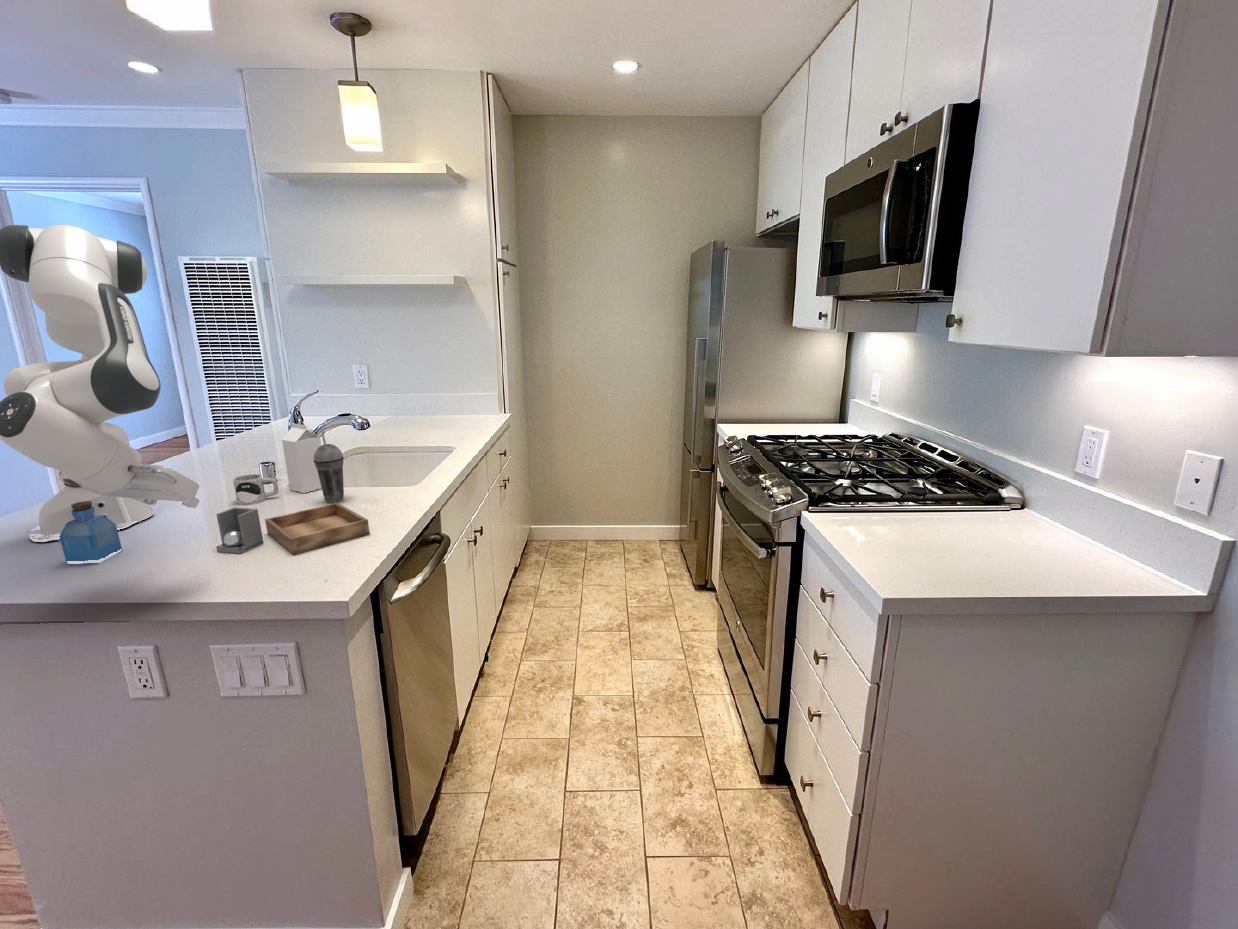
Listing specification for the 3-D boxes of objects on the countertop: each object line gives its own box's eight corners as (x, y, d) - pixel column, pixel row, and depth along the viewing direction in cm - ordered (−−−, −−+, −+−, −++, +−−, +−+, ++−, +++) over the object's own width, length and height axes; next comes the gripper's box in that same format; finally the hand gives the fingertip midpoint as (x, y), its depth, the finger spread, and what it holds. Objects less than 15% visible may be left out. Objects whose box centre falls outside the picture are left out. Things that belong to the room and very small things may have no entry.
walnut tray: (293, 555, 120) (290, 539, 119) (267, 533, 132) (264, 519, 131) (369, 534, 131) (367, 519, 130) (339, 516, 143) (337, 502, 142)
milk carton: (303, 494, 161) (293, 427, 157) (289, 490, 165) (279, 425, 160) (327, 487, 167) (318, 423, 162) (313, 484, 171) (304, 421, 166)
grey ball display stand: (240, 554, 121) (234, 518, 119) (217, 551, 122) (210, 516, 120) (263, 543, 126) (257, 508, 124) (240, 541, 128) (234, 507, 126)
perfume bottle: (91, 553, 122) (77, 499, 119) (122, 551, 123) (109, 498, 120) (67, 565, 116) (51, 509, 113) (99, 563, 117) (85, 508, 114)
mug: (235, 506, 152) (230, 482, 150) (239, 499, 157) (235, 476, 156) (278, 501, 155) (274, 477, 154) (281, 494, 161) (277, 471, 160)
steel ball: (235, 552, 122) (224, 545, 119) (228, 543, 124) (216, 536, 121) (250, 540, 123) (238, 533, 121) (242, 532, 125) (231, 524, 122)
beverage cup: (354, 496, 158) (345, 425, 153) (339, 505, 151) (329, 430, 146) (329, 496, 159) (319, 425, 154) (313, 504, 152) (302, 430, 147)
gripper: (167, 452, 97) (228, 491, 108) (73, 448, 101) (141, 485, 113) (147, 485, 94) (211, 521, 105) (50, 479, 98) (122, 514, 110)
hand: (174, 502), depth 109 cm, fingers open, 8 cm apart
